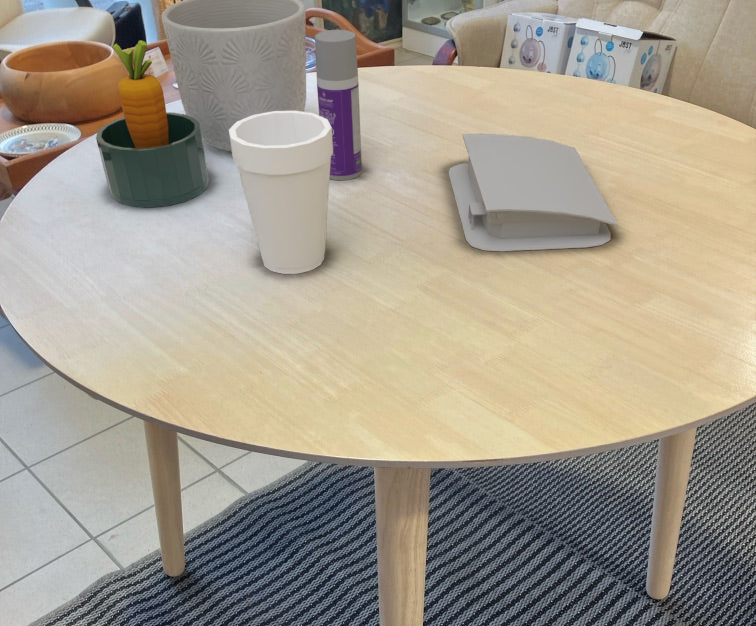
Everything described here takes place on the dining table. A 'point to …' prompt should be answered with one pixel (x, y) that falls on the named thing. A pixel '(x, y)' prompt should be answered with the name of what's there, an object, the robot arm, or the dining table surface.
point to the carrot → (142, 100)
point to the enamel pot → (154, 164)
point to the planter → (236, 60)
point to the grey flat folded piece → (527, 195)
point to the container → (340, 99)
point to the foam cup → (286, 185)
